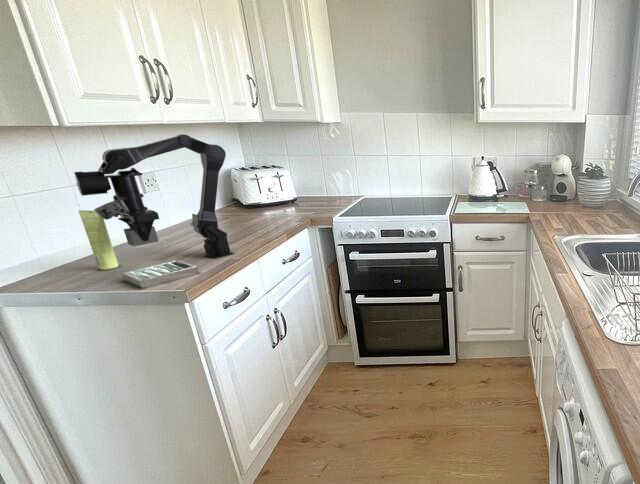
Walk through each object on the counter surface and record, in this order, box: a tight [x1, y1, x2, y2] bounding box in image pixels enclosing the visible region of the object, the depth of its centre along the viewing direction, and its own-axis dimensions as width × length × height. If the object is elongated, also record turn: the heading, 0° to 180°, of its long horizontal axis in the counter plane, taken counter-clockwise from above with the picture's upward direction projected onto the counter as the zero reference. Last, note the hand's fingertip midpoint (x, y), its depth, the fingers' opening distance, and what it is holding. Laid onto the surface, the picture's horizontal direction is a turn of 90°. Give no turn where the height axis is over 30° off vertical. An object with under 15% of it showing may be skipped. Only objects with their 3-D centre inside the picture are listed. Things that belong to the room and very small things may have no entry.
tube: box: [77, 209, 119, 271], centre depth 135 cm, size 6×5×20 cm
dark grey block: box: [123, 225, 160, 247], centre depth 133 cm, size 6×5×5 cm
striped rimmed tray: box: [121, 259, 199, 290], centre depth 130 cm, size 15×13×2 cm
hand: (142, 239), depth 134 cm, fingers closed on dark grey block, 4 cm apart
